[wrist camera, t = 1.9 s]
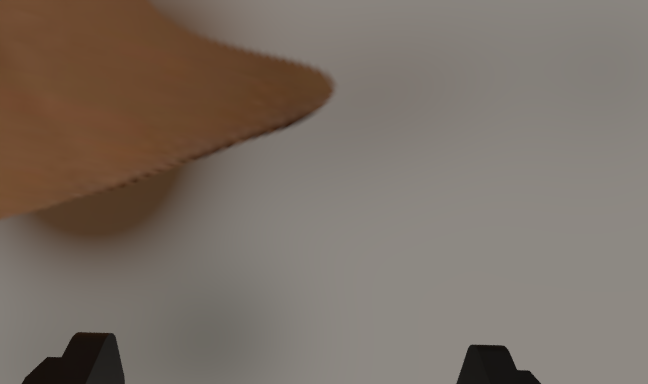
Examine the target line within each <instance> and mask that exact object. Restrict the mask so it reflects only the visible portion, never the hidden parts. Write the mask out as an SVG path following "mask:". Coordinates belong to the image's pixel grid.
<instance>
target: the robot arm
mask: <svg viewBox="0 0 648 384" xmlns="http://www.w3.org/2000/svg"><path fill="white" fill-rule="evenodd" d="M22 384H125V380H124V373H123V368H122V364H121V359H120V355H119V350H118V345H117V341H116V337H115V335H114V334H113V333H86V332H78V333H76V334H75V335H74V336H73V337H72V339H71V340H70V342H69V344H68V346H67V348H66V350H65V352H64V354H63V356H62V357H47V358H46V359H45V360H44V361H43V362H42V363H40V364H39V365H38V366H37V367H36V368H35V369H34V370H33V371H32V372H31V373H30V374H29V375H28V376H27V377H25V379H24V381H23V383H22ZM457 384H541V383H540V382H539V381H538V380H537V379H536V378H535V377H534V375H532V374H531V372H530V371H523V370H522V371H521V370H517V369H516V367H515V364H514V362H513V359H512V357H511V355H510V353H509V351H508V349H507V348H506V347H505V346H501V345H470V346H469V348H468V350H467V353H466V357H465V359H464V363H463V366H462V369H461V372H460V375H459V378H458V381H457Z"/></svg>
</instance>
